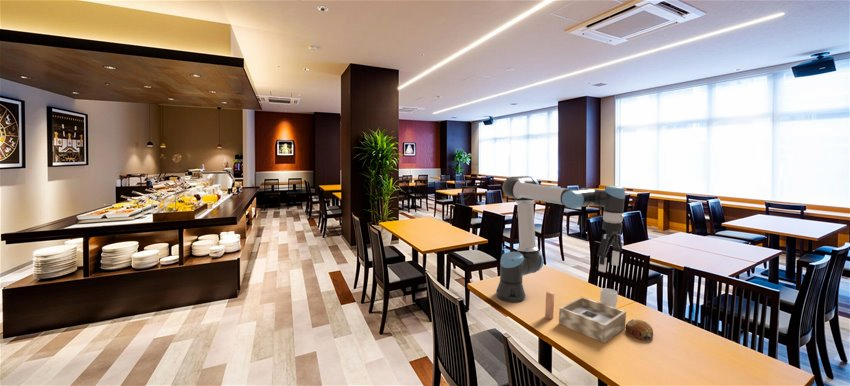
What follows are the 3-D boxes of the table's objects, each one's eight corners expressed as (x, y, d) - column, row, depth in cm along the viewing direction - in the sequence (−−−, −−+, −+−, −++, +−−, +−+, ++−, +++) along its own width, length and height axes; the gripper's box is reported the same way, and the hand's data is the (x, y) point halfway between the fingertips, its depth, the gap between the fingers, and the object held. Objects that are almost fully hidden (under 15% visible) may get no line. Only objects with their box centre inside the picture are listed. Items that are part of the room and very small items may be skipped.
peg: (543, 317, 157) (544, 292, 156) (547, 314, 159) (548, 290, 158) (550, 320, 154) (551, 295, 153) (554, 317, 156) (556, 293, 155)
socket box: (558, 323, 151) (559, 307, 150) (580, 311, 163) (581, 296, 162) (604, 343, 135) (605, 325, 134) (625, 327, 148) (626, 311, 147)
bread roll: (649, 340, 144) (648, 321, 147) (657, 342, 135) (656, 321, 137) (623, 336, 147) (623, 317, 150) (629, 337, 138) (628, 317, 141)
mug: (608, 319, 155) (610, 294, 154) (596, 313, 161) (597, 289, 160) (622, 315, 159) (624, 291, 158) (609, 309, 165) (611, 286, 164)
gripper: (609, 226, 135) (605, 276, 138) (632, 219, 151) (628, 264, 154) (590, 223, 141) (587, 271, 144) (615, 217, 157) (611, 260, 160)
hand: (608, 268), depth 149 cm, fingers open, 13 cm apart
